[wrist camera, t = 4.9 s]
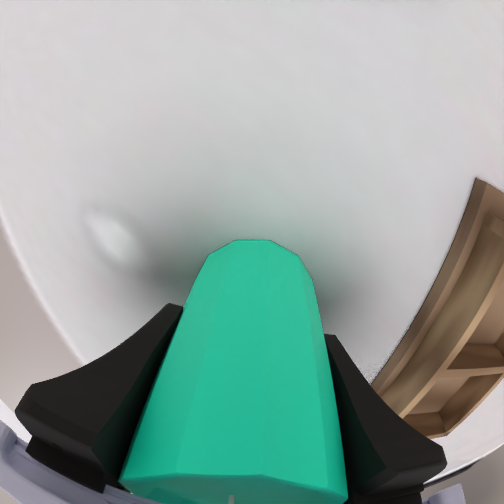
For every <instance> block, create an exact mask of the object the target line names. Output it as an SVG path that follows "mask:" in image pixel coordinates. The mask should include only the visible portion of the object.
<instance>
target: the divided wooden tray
mask: <svg viewBox="0 0 504 504" xmlns="http://www.w3.org/2000/svg"><path fill="white" fill-rule="evenodd" d="M503 378H504V193H503V192H501V191H500V190H498V189H496V188H495V187H493V186H492V185H490V184H488V183H486V182H484V181H482V180H479V179H477V178H476V180H475V183H474V186H473V189H472V193H471V196H470V199H469V202H468V205H467V207H466V210H465V213H464V216H463V219H462V221H461V224H460V226H459V229H458V232H457V234H456V237H455V239H454V241H453V244H452V246H451V248H450V251H449V253H448V255H447V258H446V260H445V262H444V264H443V266H442V268H441V270H440V273H439V275H438V277H437V279H436V281H435V283H434V285H433V287H432V289H431V291H430V292H429V294H428V296H427V298H426V300H425V302H424V304H423V305H422V307H421V309H420V311H419V313H418V314H417V316H416V318H415V320H414V321H413V323H412V325H411V326H410V328H409V330H408V331H407V333H406V334H405V336H404V338H403V339H402V341H401V342H400V344H399V346H398V347H397V349H396V350H395V352H394V353H393V355H392V356H391V358H390V359H389V361H388V362H387V363H386V365H385V366H384V368H383V369H382V371H381V372H380V373H379V375H378V376H377V377H376V379H375V380H374V382H373V383H372V384H371V387H372V388H373V389H374V391H375V392H376V393H377V394H378V395H379V396H380V397H381V399H382V400H383V401H384V402H385V403H386V404H387V405H388V406H389V407H390V408H391V409H392V410H393V411H394V412H395V413H396V414H397V415H398V416H400V417H401V418H402V419H403V420H404V421H405V422H406V423H408V424H409V425H410V426H411V427H413V428H414V429H415V430H417V431H418V432H420V433H421V434H422V435H424V436H425V437H427V438H429V439H433V438H438V437H443V436H447V435H448V434H449V433H450V432H451V431H453V430H454V429H455V428H456V427H457V426H458V425H459V424H460V423H461V422H462V421H463V420H465V419H466V418H467V417H468V416H469V415H470V414H471V413H472V412H473V411H474V410H475V409H476V408H477V407H478V406H479V405H480V404H481V403H482V401H483V400H484V399H485V398H486V397H487V396H488V395H489V394H490V393H491V392H492V391H493V389H494V388H495V387H496V386H497V385H498V384H499V383H500V381H501V380H502V379H503Z"/></svg>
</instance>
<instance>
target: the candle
mask: <svg viewBox="0 0 504 504" xmlns="http://www.w3.org/2000/svg"><path fill="white" fill-rule="evenodd" d="M118 482H119V483H121V484H122V485H123V486H124V487H125V488H126V489H128V490H129V491H130V492H131V493H133V494H134V495H137V496H140V497H143V498H146V499H150V500H153V501H156V502H160V503H164V504H343V503H344V502H345V501H346V500H347V499H348V490H347V481H346V471H345V463H344V455H343V447H342V439H341V432H340V425H339V418H338V412H337V405H336V399H335V393H334V387H333V381H332V375H331V370H330V364H329V359H328V353H327V348H326V343H325V338H324V333H323V328H322V323H321V318H320V313H319V308H318V303H317V299H316V294H315V290H314V285H313V281H312V279H311V277H310V275H309V273H308V272H307V270H306V268H305V266H304V265H303V263H302V261H301V260H300V258H299V256H298V255H296V254H294V253H292V252H290V251H289V250H287V249H285V248H283V247H281V246H279V245H278V244H276V243H274V242H272V241H270V240H235V241H233V242H231V243H229V244H228V245H226V246H224V247H222V248H220V249H218V250H217V251H215V252H213V253H211V254H209V255H208V257H207V259H206V261H205V262H204V264H203V266H202V268H201V270H200V272H199V274H198V276H197V278H196V280H195V282H194V284H193V287H192V289H191V291H190V293H189V296H188V298H187V300H186V303H185V305H184V307H183V312H182V315H181V317H180V319H179V322H178V324H177V327H176V329H175V331H174V334H173V336H172V338H171V341H170V343H169V345H168V348H167V350H166V352H165V355H164V357H163V359H162V362H161V364H160V367H159V369H158V371H157V374H156V376H155V379H154V381H153V384H152V386H151V389H150V392H149V394H148V397H147V399H146V402H145V405H144V407H143V410H142V413H141V416H140V418H139V421H138V424H137V426H136V429H135V432H134V435H133V438H132V440H131V443H130V446H129V449H128V452H127V455H126V458H125V461H124V464H123V467H122V470H121V473H120V476H119V479H118Z"/></svg>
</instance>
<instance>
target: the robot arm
mask: <svg viewBox="0 0 504 504" xmlns="http://www.w3.org/2000/svg"><path fill="white" fill-rule="evenodd" d="M182 312H183V306H178V305H174V304H170V303H168V304H167V305H165V306H164V307H163V308H162V309H161V310H160V311H159V312H158V313H157V314H156V315H155V316H154V317H153V318H152V319H151V320H150V321H149V322H147V323H146V324H145V325H144V326H143V327H142V328H140V329H139V330H138V331H137V332H136V333H134V334H133V335H132V336H131V337H129V338H128V339H127V340H125V341H124V342H123V343H121V344H120V345H119V346H117V347H116V348H114V349H113V350H111V351H110V352H108V353H106V354H105V355H103V356H102V357H100V358H98V359H96V360H94V361H93V362H91V363H89V364H87V365H85V366H83V367H81V368H79V369H76V370H74V371H71V372H69V373H67V374H64V375H62V376H59V377H56V378H53V379H49V380H46V381H43V382H39V383H35V384H32V385H31V386H30V387H29V388H28V390H27V391H26V393H25V394H24V396H23V397H22V399H21V401H20V402H19V404H18V406H17V407H16V409H15V414H16V417H17V418H18V420H19V421H20V422H21V423H22V425H23V426H24V427H25V428H26V429H27V431H28V432H29V433H30V434H31V435H32V438H31V440H30V442H29V444H28V443H26V442H25V441H23V440H22V439H20V438H19V437H17V435H16V434H15V432H14V431H13V430H12V429H11V428H10V427H8V426H7V425H6V424H5V423H4V422H2V421H1V420H0V488H1V489H2V490H4V491H5V492H6V493H7V494H9V495H10V496H11V497H12V498H14V499H15V500H16V501H17V502H19V503H20V504H164V503H160V502H156V501H153V500H150V499H146V498H143V497H140V496H137V495H134V494H131V492H130V491H129V490H128V489H126V488H125V487H124V486H123V485H122V484H121V483H119V482H118V479H119V476H120V473H121V470H122V467H123V464H124V461H125V458H126V455H127V452H128V449H129V446H130V443H131V440H132V438H133V435H134V432H135V429H136V426H137V424H138V421H139V418H140V416H141V413H142V410H143V407H144V405H145V402H146V399H147V397H148V394H149V392H150V389H151V386H152V384H153V381H154V379H155V376H156V374H157V371H158V369H159V367H160V364H161V362H162V359H163V357H164V355H165V352H166V350H167V348H168V345H169V343H170V341H171V338H172V336H173V334H174V331H175V329H176V327H177V324H178V322H179V319H180V317H181V315H182ZM324 338H325V343H326V348H327V353H328V359H329V364H330V370H331V375H332V381H333V387H334V393H335V399H336V405H337V412H338V418H339V425H340V432H341V439H342V447H343V455H344V463H345V471H346V481H347V490H348V499H347V500H346V501H345V502H344V503H343V504H466V503H465V498H464V495H463V490H462V486H461V484H460V483H459V484H456V485H454V486H451V487H448V488H446V489H443V490H441V491H439V492H437V493H435V494H433V495H431V496H430V497H428V498H425V499H421V495H420V492H422V491H423V490H424V486H423V483H424V482H426V481H428V480H429V479H431V478H432V477H434V476H436V475H437V474H439V473H440V472H441V471H443V470H444V469H445V467H446V466H447V461H446V457H445V454H444V451H443V448H442V446H440V445H439V444H437V443H435V442H434V441H432V440H430V439H429V438H427V437H425V436H424V435H422V434H421V433H420V432H418V431H417V430H415V429H414V428H413V427H411V426H410V425H409V424H408V423H406V422H405V421H404V420H403V419H402V418H401V417H400V416H398V415H397V414H396V413H395V412H394V411H393V410H392V409H391V408H390V407H389V406H388V405H387V404H386V403H385V402H384V401H383V400H382V399H381V397H380V396H379V395H378V394H377V393H376V392H375V391H374V389H373V388H372V387H371V386H370V384H369V383H368V382H367V380H366V379H365V378H364V376H363V375H362V374H361V372H360V371H359V370H358V368H357V367H356V365H355V364H354V362H353V361H352V359H351V358H350V356H349V355H348V353H347V352H346V350H345V349H344V347H343V346H342V344H341V343H340V341H339V340H338V338H337V337H336V336H335V335H329V334H324Z"/></svg>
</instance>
